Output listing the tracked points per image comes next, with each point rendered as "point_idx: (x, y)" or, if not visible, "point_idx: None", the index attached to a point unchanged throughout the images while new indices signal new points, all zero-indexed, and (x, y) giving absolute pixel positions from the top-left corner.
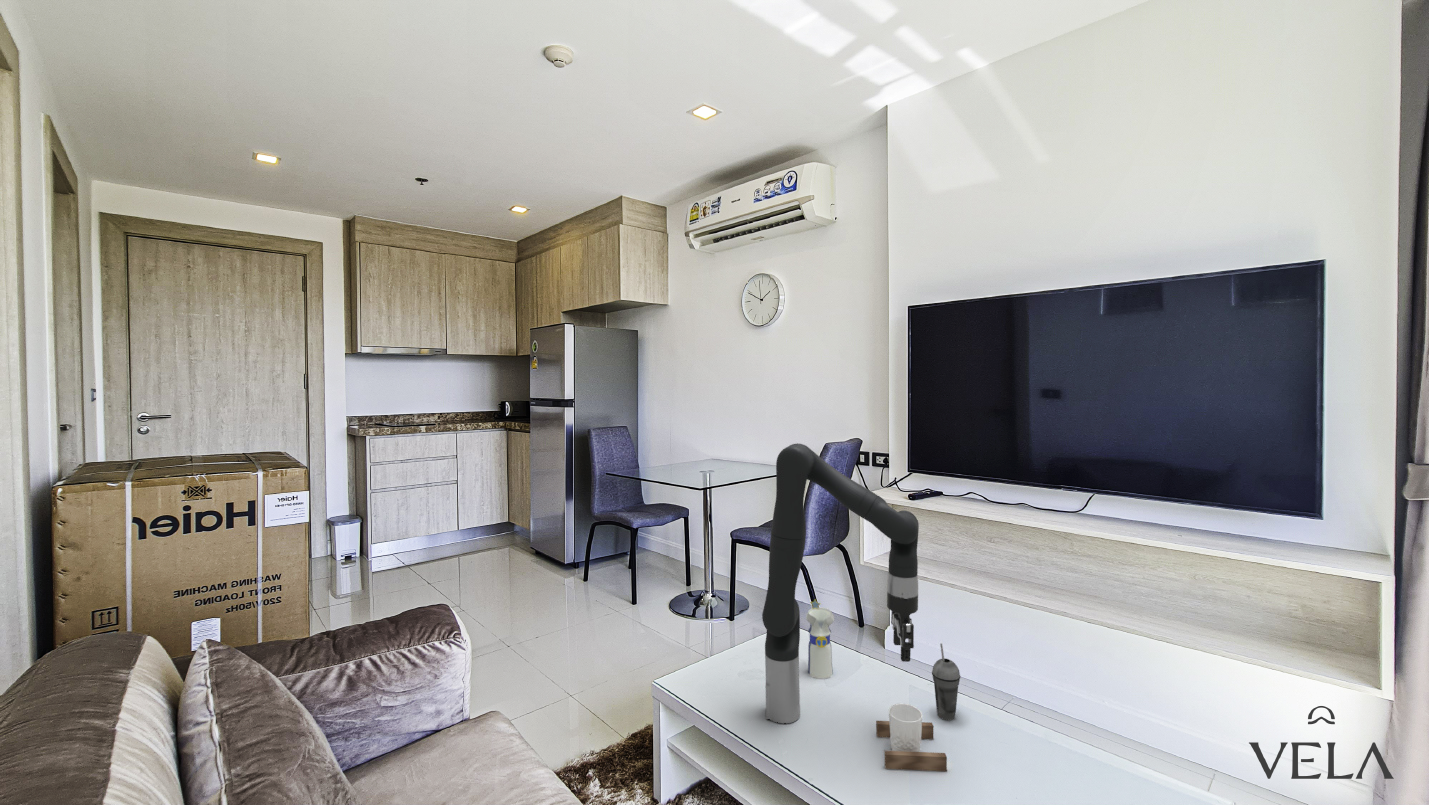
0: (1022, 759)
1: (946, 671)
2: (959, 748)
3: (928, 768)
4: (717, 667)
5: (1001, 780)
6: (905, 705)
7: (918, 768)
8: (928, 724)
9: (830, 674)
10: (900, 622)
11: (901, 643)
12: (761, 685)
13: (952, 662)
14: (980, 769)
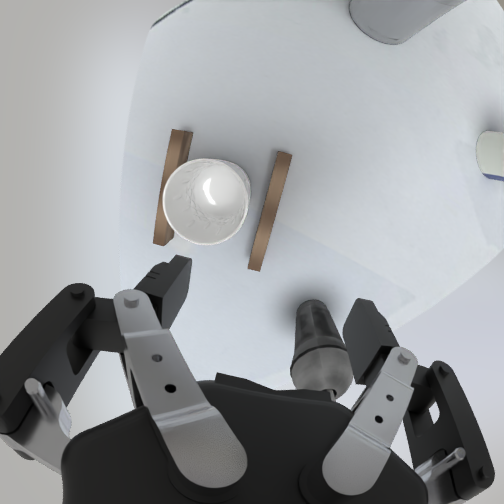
0: (185, 349)
1: (301, 376)
2: (218, 286)
3: None
4: (499, 17)
5: None
6: (241, 220)
7: None
8: (254, 261)
9: (481, 165)
10: (108, 453)
11: (119, 303)
12: (464, 36)
13: None
14: None
